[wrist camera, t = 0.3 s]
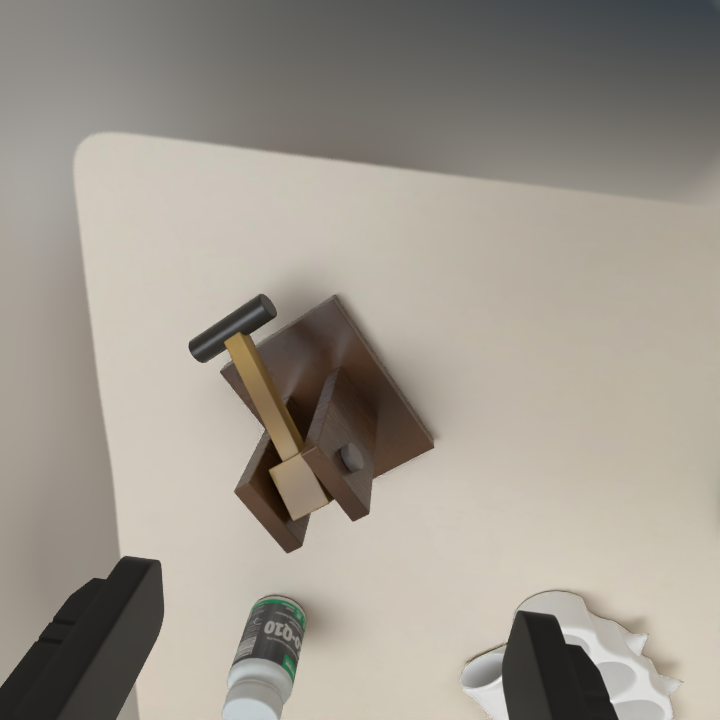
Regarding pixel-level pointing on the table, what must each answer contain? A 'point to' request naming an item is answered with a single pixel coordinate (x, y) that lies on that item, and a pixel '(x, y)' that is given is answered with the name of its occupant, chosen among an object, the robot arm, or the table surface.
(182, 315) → the table surface
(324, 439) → the switch bracket
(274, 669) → the pill bottle
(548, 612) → the knuckle duster
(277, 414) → the switch lever
